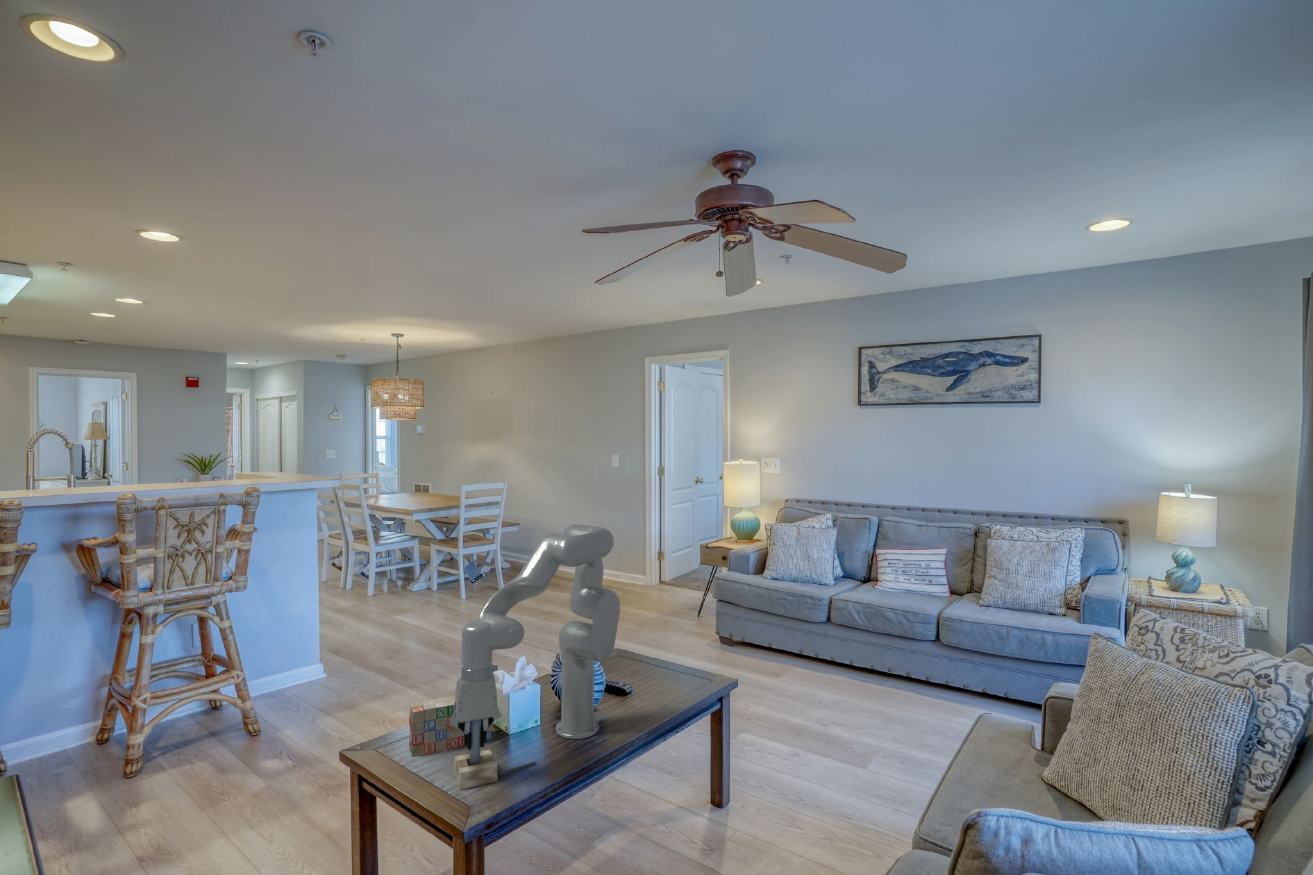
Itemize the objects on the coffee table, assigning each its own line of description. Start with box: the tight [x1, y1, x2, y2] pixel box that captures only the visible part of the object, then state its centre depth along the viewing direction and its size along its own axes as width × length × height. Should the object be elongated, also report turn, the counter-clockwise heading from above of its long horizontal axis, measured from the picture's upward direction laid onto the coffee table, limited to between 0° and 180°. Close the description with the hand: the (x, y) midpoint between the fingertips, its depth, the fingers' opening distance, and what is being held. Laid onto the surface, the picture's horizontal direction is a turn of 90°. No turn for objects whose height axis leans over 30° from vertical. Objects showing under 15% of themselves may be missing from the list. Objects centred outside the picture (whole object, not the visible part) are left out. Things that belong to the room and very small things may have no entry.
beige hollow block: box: [453, 749, 498, 791], centre depth 160 cm, size 9×9×4 cm
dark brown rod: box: [498, 760, 537, 777], centre depth 164 cm, size 10×1×1 cm, turn 127°
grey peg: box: [469, 719, 481, 765], centre depth 160 cm, size 3×3×12 cm
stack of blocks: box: [408, 695, 493, 758], centre depth 177 cm, size 21×6×12 cm, turn 117°
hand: (475, 745), depth 160 cm, fingers closed on grey peg, 2 cm apart
